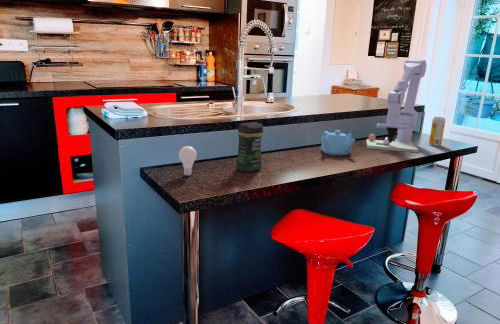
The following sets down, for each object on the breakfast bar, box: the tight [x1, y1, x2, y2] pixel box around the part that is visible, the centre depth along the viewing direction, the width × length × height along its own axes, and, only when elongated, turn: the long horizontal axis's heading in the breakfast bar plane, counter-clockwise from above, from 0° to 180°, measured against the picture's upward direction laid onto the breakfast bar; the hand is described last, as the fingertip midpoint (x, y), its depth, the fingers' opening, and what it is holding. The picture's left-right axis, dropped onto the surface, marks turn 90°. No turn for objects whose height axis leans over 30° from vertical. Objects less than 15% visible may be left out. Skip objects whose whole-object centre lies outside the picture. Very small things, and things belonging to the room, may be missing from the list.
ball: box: [368, 133, 376, 141], centre depth 206 cm, size 4×4×4 cm
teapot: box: [320, 129, 356, 157], centre depth 182 cm, size 15×15×11 cm
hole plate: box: [365, 138, 419, 154], centre depth 200 cm, size 16×24×2 cm, turn 76°
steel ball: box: [383, 137, 390, 145], centre depth 197 cm, size 4×4×4 cm
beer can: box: [428, 116, 446, 147], centre depth 207 cm, size 6×6×15 cm
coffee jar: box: [235, 121, 264, 173], centre depth 149 cm, size 10×8×19 cm
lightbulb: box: [178, 145, 198, 177], centre depth 139 cm, size 6×6×11 cm
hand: (389, 142), depth 197 cm, fingers closed, pressing on steel ball
